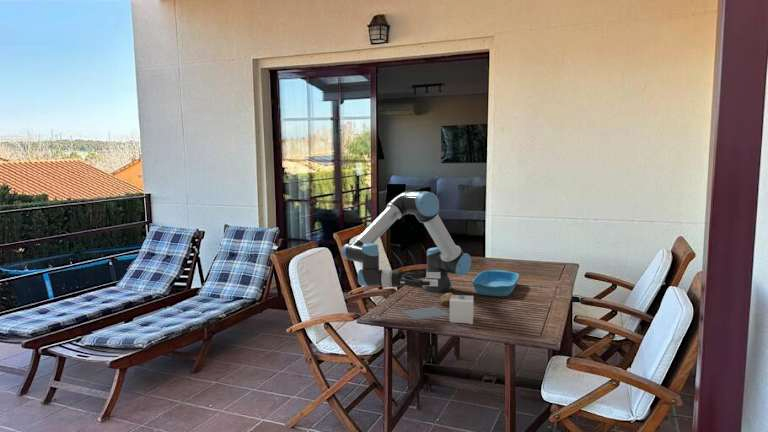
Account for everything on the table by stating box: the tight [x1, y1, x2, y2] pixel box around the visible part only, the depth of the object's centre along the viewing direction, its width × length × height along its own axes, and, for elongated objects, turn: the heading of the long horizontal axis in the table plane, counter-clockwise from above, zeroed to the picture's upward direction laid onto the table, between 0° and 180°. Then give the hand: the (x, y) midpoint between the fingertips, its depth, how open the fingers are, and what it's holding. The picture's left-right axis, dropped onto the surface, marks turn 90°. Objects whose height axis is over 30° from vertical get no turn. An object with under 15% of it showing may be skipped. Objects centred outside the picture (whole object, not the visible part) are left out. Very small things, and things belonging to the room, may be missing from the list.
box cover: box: [449, 294, 474, 325], centre depth 226 cm, size 10×10×11 cm
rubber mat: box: [402, 306, 450, 321], centre depth 236 cm, size 18×14×1 cm
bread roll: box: [438, 292, 455, 308], centre depth 250 cm, size 10×10×8 cm
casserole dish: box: [471, 269, 520, 297], centre depth 279 cm, size 37×22×7 cm, turn 158°
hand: (439, 279), depth 226 cm, fingers open, 13 cm apart
